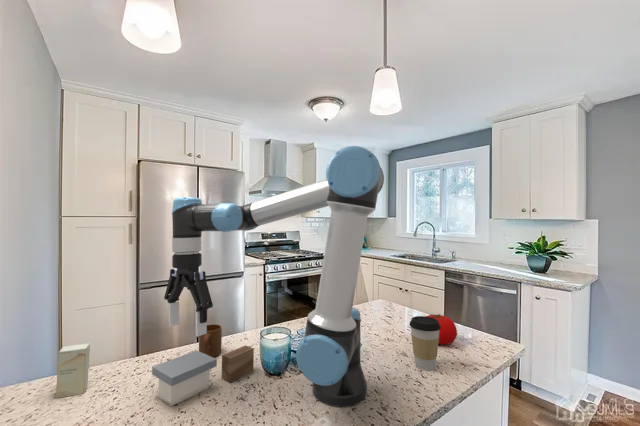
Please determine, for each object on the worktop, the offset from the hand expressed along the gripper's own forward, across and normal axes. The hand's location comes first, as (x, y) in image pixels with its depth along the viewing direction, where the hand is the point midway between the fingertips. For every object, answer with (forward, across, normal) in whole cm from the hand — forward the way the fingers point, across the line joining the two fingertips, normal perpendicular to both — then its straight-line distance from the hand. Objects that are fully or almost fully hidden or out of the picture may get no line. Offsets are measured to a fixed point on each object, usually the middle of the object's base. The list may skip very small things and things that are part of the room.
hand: (187, 329), depth 83 cm
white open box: (+17, +1, 0) cm, 17 cm away
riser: (+17, -3, -15) cm, 23 cm away
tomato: (+19, -46, -79) cm, 93 cm away
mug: (+17, +15, -17) cm, 28 cm away
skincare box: (+17, +26, +18) cm, 36 cm away
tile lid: (+11, +1, 0) cm, 11 cm away
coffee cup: (+19, -48, -55) cm, 75 cm away
